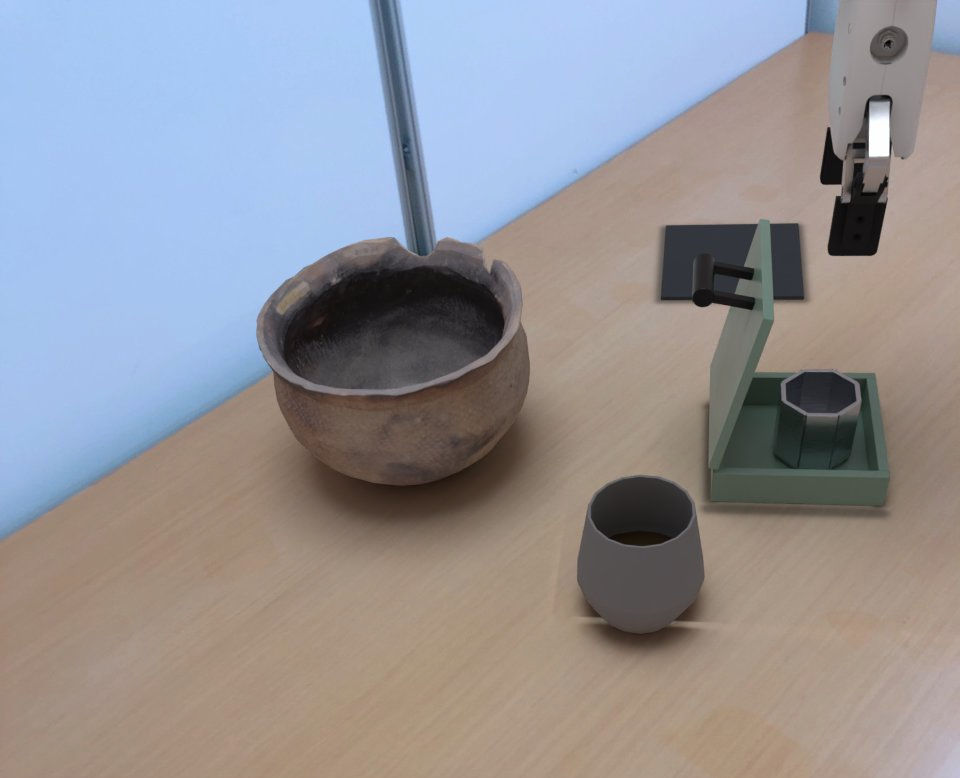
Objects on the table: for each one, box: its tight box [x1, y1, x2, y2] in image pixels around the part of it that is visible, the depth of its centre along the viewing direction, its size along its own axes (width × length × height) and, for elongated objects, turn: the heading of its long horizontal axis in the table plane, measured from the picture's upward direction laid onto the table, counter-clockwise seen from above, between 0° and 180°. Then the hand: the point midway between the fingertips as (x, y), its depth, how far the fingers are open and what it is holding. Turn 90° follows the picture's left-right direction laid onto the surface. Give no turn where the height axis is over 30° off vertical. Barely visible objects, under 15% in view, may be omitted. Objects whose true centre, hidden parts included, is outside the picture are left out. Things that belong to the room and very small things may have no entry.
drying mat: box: [660, 222, 805, 301], centre depth 114 cm, size 14×14×1 cm
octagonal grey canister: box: [774, 368, 862, 470], centre depth 91 cm, size 6×6×6 cm
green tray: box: [709, 371, 891, 507], centre depth 93 cm, size 14×14×4 cm
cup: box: [576, 474, 706, 635], centre depth 81 cm, size 10×9×10 cm
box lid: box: [691, 218, 775, 470], centre depth 87 cm, size 14×14×5 cm
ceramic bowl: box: [255, 236, 531, 486], centre depth 94 cm, size 22×22×15 cm
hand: (846, 216), depth 77 cm, fingers open, 9 cm apart
